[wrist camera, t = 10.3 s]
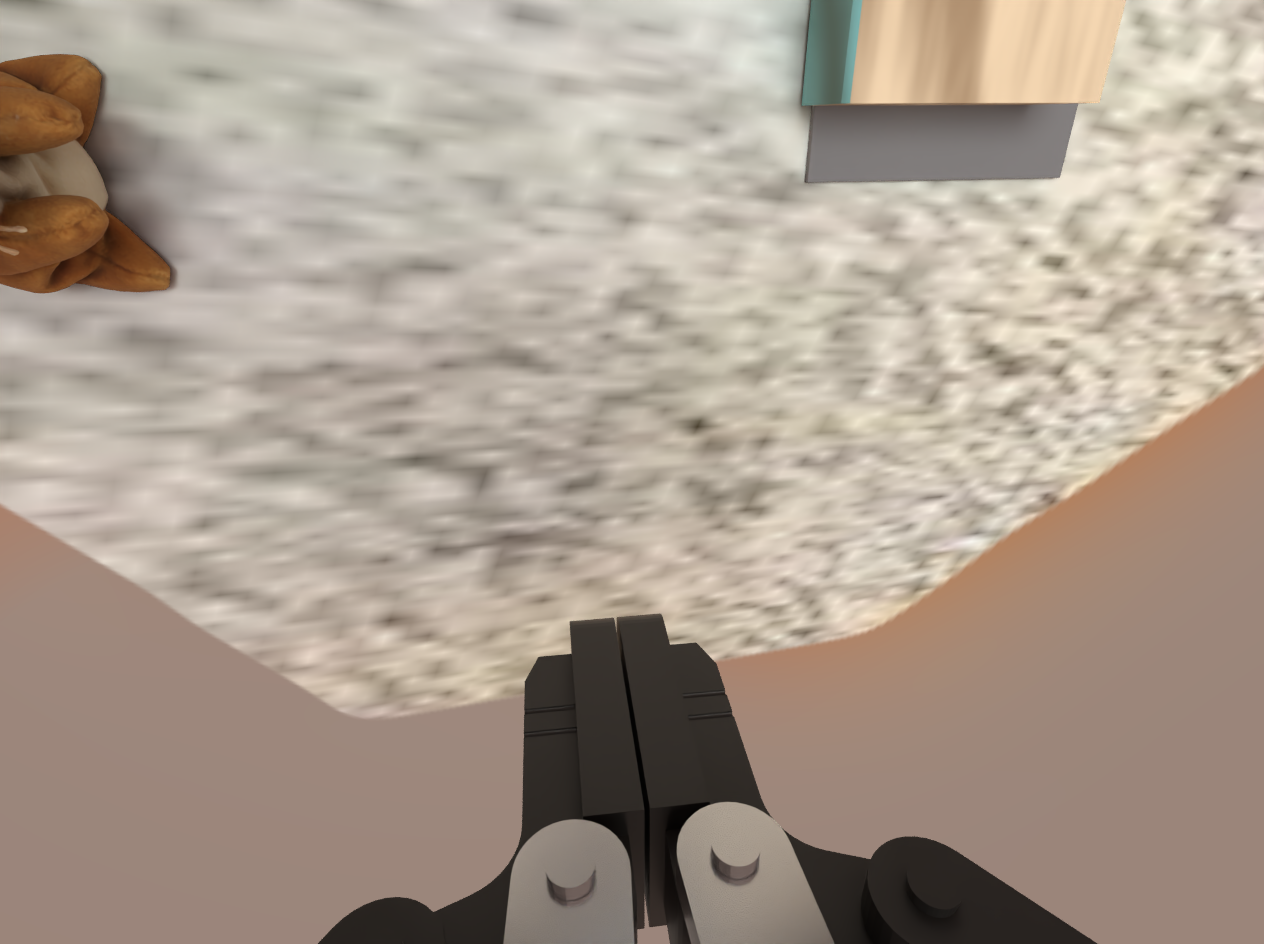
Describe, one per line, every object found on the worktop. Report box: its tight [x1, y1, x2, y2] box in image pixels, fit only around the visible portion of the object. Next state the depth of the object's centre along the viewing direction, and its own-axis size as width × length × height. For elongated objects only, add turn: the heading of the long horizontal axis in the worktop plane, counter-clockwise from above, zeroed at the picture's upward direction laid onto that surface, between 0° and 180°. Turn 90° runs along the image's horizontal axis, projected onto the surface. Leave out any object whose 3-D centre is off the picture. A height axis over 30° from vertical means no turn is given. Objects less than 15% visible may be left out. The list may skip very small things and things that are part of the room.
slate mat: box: [805, 103, 1078, 182], centre depth 34 cm, size 14×12×1 cm
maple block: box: [802, 0, 1126, 106], centre depth 32 cm, size 5×5×12 cm
